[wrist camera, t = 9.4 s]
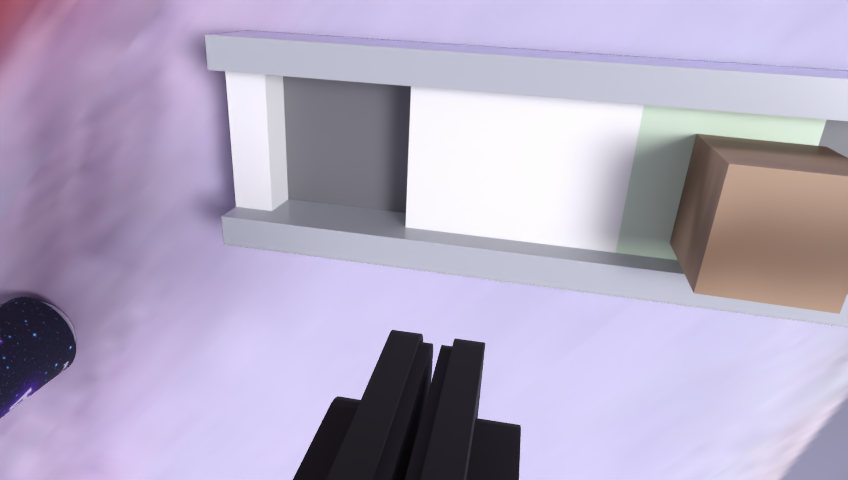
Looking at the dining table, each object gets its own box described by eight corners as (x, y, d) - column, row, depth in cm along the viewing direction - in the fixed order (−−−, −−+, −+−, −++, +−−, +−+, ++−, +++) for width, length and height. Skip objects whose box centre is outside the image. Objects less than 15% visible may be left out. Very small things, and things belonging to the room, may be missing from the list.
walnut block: (696, 133, 25) (729, 163, 20) (826, 146, 24) (890, 181, 19) (669, 243, 26) (694, 293, 22) (788, 258, 26) (839, 313, 21)
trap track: (247, 30, 29) (204, 34, 26) (1059, 84, 23) (1151, 100, 20) (259, 217, 33) (223, 244, 30) (958, 304, 27) (1020, 350, 24)
